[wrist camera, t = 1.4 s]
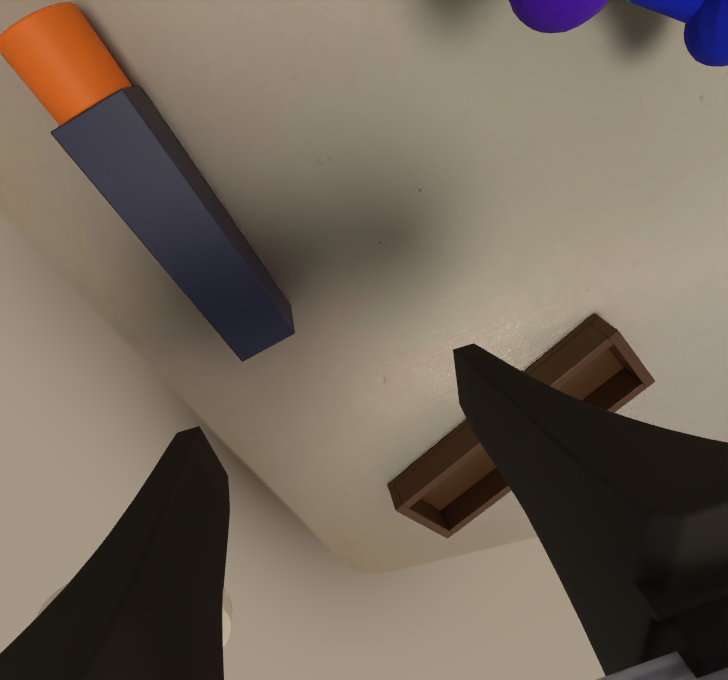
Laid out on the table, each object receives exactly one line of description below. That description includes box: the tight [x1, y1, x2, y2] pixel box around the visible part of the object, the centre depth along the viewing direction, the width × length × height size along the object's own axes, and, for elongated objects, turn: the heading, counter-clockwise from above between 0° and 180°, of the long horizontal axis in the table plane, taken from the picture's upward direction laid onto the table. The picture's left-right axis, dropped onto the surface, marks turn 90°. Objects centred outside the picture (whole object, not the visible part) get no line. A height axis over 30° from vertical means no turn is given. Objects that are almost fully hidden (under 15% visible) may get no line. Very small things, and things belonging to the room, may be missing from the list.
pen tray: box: [388, 314, 655, 538], centre depth 27 cm, size 16×5×2 cm, turn 134°
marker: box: [0, 3, 295, 362], centre depth 16 cm, size 12×3×3 cm, turn 26°
